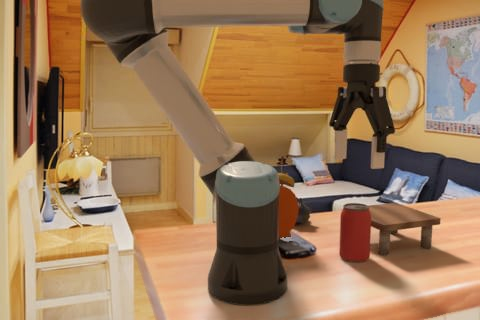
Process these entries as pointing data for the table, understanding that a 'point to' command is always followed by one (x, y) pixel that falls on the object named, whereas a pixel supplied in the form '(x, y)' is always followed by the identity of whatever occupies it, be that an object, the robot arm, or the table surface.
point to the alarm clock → (286, 205)
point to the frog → (303, 212)
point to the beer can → (355, 232)
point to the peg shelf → (400, 223)
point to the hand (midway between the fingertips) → (357, 163)
